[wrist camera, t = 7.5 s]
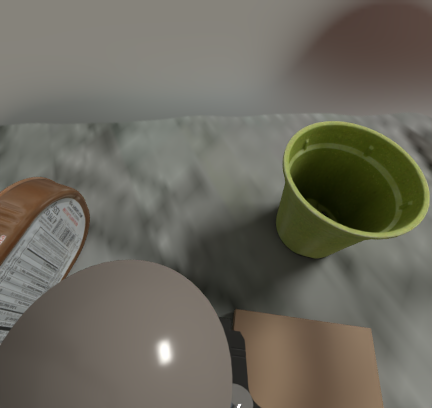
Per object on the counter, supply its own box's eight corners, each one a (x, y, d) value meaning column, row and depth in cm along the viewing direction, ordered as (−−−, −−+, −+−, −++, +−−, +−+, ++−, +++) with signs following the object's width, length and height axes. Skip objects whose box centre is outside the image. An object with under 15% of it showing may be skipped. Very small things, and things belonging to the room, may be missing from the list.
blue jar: (107, 413, 15) (-98, 542, 5) (135, 310, 18) (48, 246, 7) (203, 428, 15) (216, 593, 5) (216, 322, 18) (241, 275, 7)
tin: (77, 211, 24) (24, 148, 17) (108, 221, 24) (67, 161, 16) (-54, 406, 17) (-252, 446, 9) (-12, 424, 16) (-182, 480, 9)
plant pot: (310, 172, 28) (351, 105, 20) (379, 244, 24) (461, 193, 16) (238, 211, 25) (255, 149, 17) (304, 299, 21) (360, 268, 14)
